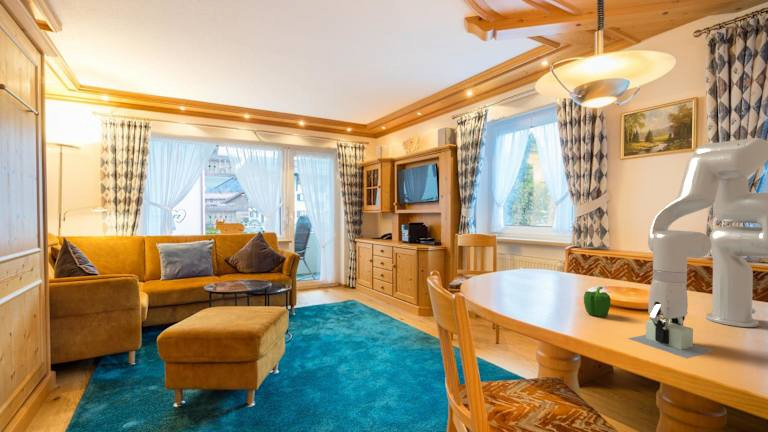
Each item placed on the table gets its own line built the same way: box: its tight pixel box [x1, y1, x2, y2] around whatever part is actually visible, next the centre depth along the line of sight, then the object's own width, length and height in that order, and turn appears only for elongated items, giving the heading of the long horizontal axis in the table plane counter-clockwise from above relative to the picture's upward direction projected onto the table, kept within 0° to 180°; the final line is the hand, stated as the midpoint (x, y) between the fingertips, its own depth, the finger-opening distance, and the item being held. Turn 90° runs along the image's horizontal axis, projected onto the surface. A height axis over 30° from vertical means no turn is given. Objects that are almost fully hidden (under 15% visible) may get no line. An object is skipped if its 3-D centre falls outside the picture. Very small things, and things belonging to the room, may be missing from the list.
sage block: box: [645, 319, 694, 349], centre depth 101 cm, size 5×9×5 cm, turn 22°
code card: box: [627, 334, 715, 359], centre depth 100 cm, size 12×15×1 cm
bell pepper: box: [583, 285, 612, 318], centre depth 127 cm, size 8×8×10 cm
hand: (668, 340), depth 101 cm, fingers closed on sage block, 5 cm apart
